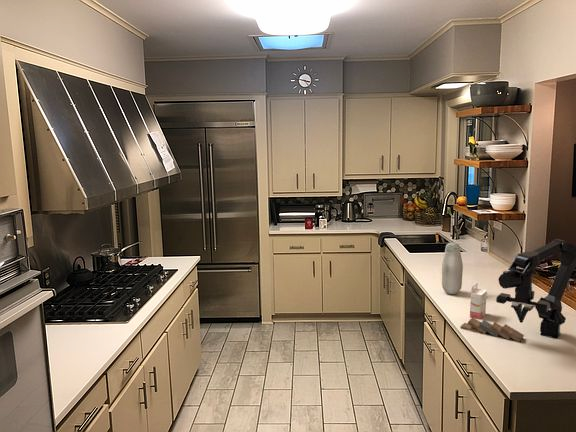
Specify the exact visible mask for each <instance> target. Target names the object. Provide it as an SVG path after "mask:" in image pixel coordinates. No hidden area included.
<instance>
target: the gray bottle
mask: <svg viewBox="0 0 576 432" xmlns="http://www.w3.org/2000/svg"><path fill="white" fill-rule="evenodd" d="M461 252H462V251H461V246H460V244H459V243H457V242H456V241H455V242H453V241H450V242H448V243H447V244H446V245H445V249H444V255H443V260H442V265H441V287H442V289H443V291H444V292H445V293H446V294H448V295H456V294H459V292H461V291H460V290H461V289H462V287H463V286H462V285H463V273H464V272H463V269H464V265H463V258H462V253H461Z"/></svg>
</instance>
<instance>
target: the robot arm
mask: <svg viewBox="0 0 576 432" xmlns="http://www.w3.org/2000/svg"><path fill="white" fill-rule="evenodd" d="M556 254H559V261H560V265H559V267H558V269H557V272H556V274H555V277H554V279H553V282H552V283H551V286H550V289H549V291H548V294H547V295H546V296H545V297H542V296H541V297H540V298H539V300H538V301H537V302H536V301H532V300H534V299H535V294H536V293H535V290H533V276H534V275H537V273H538V272H537V271H536V270H535V269H536V268H538V267H539V266H540V263H541V262H543V261H544V260H547V259H548V258H550V257H552V256H554V255H556ZM512 260H513V261H512V262H511V264H510V266H509V267H508V269H507V270H504V271H502V274H500V276H499V277H498V284H499V286H500V287H501V288H502V289H504V290H505V289H513V288H514V293H515V294H514V297H512V296H511V294H509V293H504V292H500V294H498V295H497V296H496V303H498V304H502V305H504V304H505V303H507V302H509V303H510V302H511V305H510V308H512V309H513V310H514V312H515V314H516V316H517V319H518V321H519V323H520V324H521V323H523V322H524V320H525V318H526V316H527V314H528V312H531V311H532V310H533V309H534V308H535V310H536V311H537V315H538V317H539V319H542V320H541V322H540V325H539V326H540V327H539V328H540V329H539V332H540V333H539V334H540V335H541V336H545V337H549V338H554V339H559V337H560V336H561V325H563V324H565V322H566V316H564V314H563V313H562V311H563V310H562V309H563V305H562V299H563V296H564V293H565V291H566V288H567V286H568V283H569V282H570V279H571V277H572V274H573V271H574V270H575V268H576V245H573V244H571V243H570V242H567V240H562V239H558V238H555V239H553V240H552V241H551V242H549V243H547V244H544V245H541V246H540V247H539V248H536V249H534V250H532V251H524V252H520V253H518V254H516V255H515V257H514V259H512ZM523 305H524V306H523Z"/></svg>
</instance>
